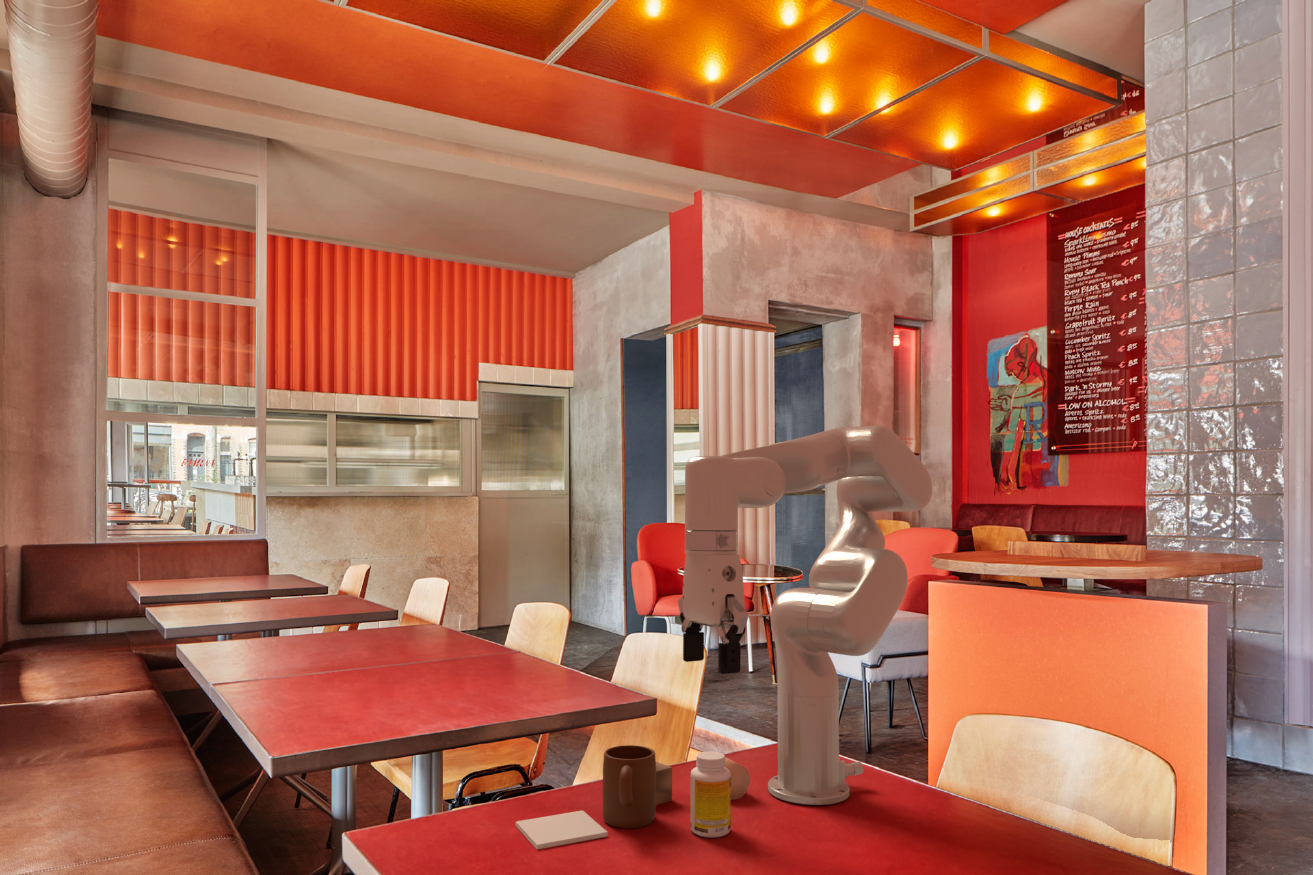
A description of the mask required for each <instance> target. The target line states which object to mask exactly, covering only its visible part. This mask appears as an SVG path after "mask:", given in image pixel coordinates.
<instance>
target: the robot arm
mask: <svg viewBox="0 0 1313 875" xmlns="http://www.w3.org/2000/svg"><path fill="white" fill-rule="evenodd" d="M836 481H837V483H836V499H837V506H838V516H839V525H838V528H837V530H836V532H835V533H834V535H833V536H832V538H831V539H830V541H829V542H828V543H827V545H826V546H825V547H824V549H823V550H822V551H821V553H820V554H819V555H818V557H817V558H816V560H815V561H814V563H813V564H812V566H811V569H810V572H809V575H808V585H809V587H795V588H790V589H786V590H784V591H783V592H781V593H780V594H778V595H777V597H775V600H774V601H773V602H772V603H773V604H772V607H771V610H770V624H771V625H770V626H771V631H772V636H773V641H774V646H775V653H776V655H775V656H776V666H777V667H776V669H777V775H775V776H773V777H771V778H770V779H769V780H768V782H767V790H768V792H769V793H770V794H771V795H772V796H773V797H775V798H778V799H779V800H781V801H782V800H783V801H786V802H789V803H791V804H792V803H793V804H799V805H807V806H808V805H810V806H824V805H826V806H827V805H835V804H838V803H841V802H844V801H845V800H846V799H848V798H849V796H850V793H851V791H850V785H849V784H848V783H847V782H846V781H845V780H847V779H848V778H849V776H858V775H862V774H863V773H864V770H865V769H864V766H863V764H862V762H861V761H855V762H854V761H853V762H848V763H847V762H846V761H845V760H844V759H842V760H841V759H840V723H839V721H840V718H839V716H840V715H839V714H840V712H839V711H840V710H839V709H840V708H839V707H840V706H839V705H840V704H839V703H840V702H839V701H840V700H839V698H840V697H839V693H840V692H839V691H840V689H839V686H840V685H839V684H840V683H839V677H838V672H837V668H836V666H835V664H834V662H833V660H832V658H831V656H830V655H829V654H835V655H836V654H837V655H844V656H850V657H859V656H864V655H867V654H868V653H870V652H871V651H872V650H873V649H875V647H876V646H877V644H878V643H879V642H880V640H881V638H882V636H883V635H884V633H885V632H886V631H887V628H888V626H889V625H890V624H891V622H892V620H893V618H894V617H895V616H896V613H897V612H898V610H899V608H900V607H901V605H902V603H903V601H904V599H905V596H906V593H907V589H908V580H909V579H908V569H907V566H906V563H905V561H904V559H903V558H902V557H901V555H899V554H898V553H896V552H895V551H893V550H891V549H888V548H885V547H886V538H885V536H884V533H883V531H882V528H881V527H880V526H879V524H878V523H877V521H876V519H875V517H874V513H875V512H881V513H883V512H884V513H886V512H890V513H892V512H893V513H894V512H895V513H897V512H898V513H900V512H901V513H904V512H905V513H913V512H918V511H920V510H922V509H924V508H926V507H927V505H928V504H929V503H930V501H931V499H932V496H933V481H932V478H931V475H930V473H929V470H928V469H927V468H926V466H925V465H924V464H923V462H922V461H921V460H920V458H919V457H917V455H916V454H915V453H914V452H913V451H912V449H911V448H910V446H908V445H907V443H906V442H905V441H904V440H903V439H902V438H901V437H900V436H899V435H898V434H896V433H895V432H894V431H893V430H891V429H890V428H888V427H885V426H883V425H878V424H876V425H864V426H863V425H862V426H848V427H847V426H845V427H837V428H836V427H835V428H831V429H827V430H824V431H821V432H817V433H813V434H810V435H806V436H803V437H799V438H798V437H797V438H793V439H789V440H784V441H781V442H776V443H771V444H768V445H765V446H764V445H762V446H760V447H754V448H749V449H744V450H739V451H734V452H731V453H726V454H722V455H701V456H693V457H690V458H689V459H688V460H687V461H686V463H685V470H684V554H685V558H684V559H685V560H684V569H683V580H682V596H681V597H680V598H679V599H678V600H677V605H678V609H679V613H680V614H679V619H680V622H681V632H682V660H683V661H684V662H686V663H688V662H702V661H703V660H704V659H705V633H704V632H703V631H702V629H703V628H704V626H707V627H711V628H716V631H717V634H718V636H719V639H720V641H721V642H718V644H717V646H718V649H717V651H718V652H717V653H718V654H717V658H718V659H717V662H718V665H717V666H718V668H717V669H718V673H719V674H721V675H726V674H727V675H728V674H735V673H737V674H738V673H740V672H741V643H743V641H744V640H743V639H744V634H745V633H746V627H747V622H748V619H749V613H748V611H747V609H745V588H744V578H743V577H744V576H743V569H742V563H741V557H740V554H739V531H738V530H739V523H738V522H739V508H741V509H761V508H762V509H763V508H768V507H771V506H773V505H775V504H776V503H777V502H779V501H780V499H782V497H783V496H784V494H794V493H799V492H807V491H811V490H814V489H816V488H819V487H822V486H825V485H827V484H830V483H832V482H836ZM727 629H728V630H727Z"/></svg>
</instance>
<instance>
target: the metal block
mask: <svg viewBox="0 0 1313 875" xmlns="http://www.w3.org/2000/svg"><path fill="white" fill-rule="evenodd" d="M671 801H673V766H670V765H668V764H664V763H661V762H658V761H656V806H659V805H661V804H665V803H668V802H671Z"/></svg>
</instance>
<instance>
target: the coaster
mask: <svg viewBox="0 0 1313 875" xmlns="http://www.w3.org/2000/svg"><path fill="white" fill-rule="evenodd" d="M515 827H516V828H517V829H518V830H519V831H520V832H521V834H522V835H523V836H524V837H525V838H526V839H527V840H528V841H529V843H531V845H532V846H533V847H534V848H535V849H536V850H541V849H542V850H543V849H547V848H552V847H558V846H564V845H569V844H574V843H580V842H586V841H591V840H596V839H602V838H607V837H608V831H607V830H606V828H604V827H602V825H600V824H599V823H598V822H597V821H595V819H593V817H591V816H590V815H589V814H588V813H586V812H585V811H584V810H576V811H572V812H564V813H560V814H552V815H547V816H541V817H535V818H529V819H522V820H517V821H515Z"/></svg>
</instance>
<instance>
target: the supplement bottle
mask: <svg viewBox="0 0 1313 875" xmlns="http://www.w3.org/2000/svg"><path fill="white" fill-rule="evenodd" d="M725 757H726V756H725V754H724V753H721V752H719V751H702V752H699V753H697V754H696V761H695V762H696V766H695V767H693V769H691V771H690V798H689V799H690V801H689V802H690V811H689V812H690V816H689V817H690V830H691V832H693V833H694V834H695V835H696V836H699V837H702V838H710V839H711V838H714V839H715V838H721V837H724V836H727V835H728V834H729V832H731V823H732V819H731V818H732V816H731V814H732V813H731V812H732V811H731V810H732V808H731V807H732V802H731V801H732V800H731V773H730V771H729V770H728V769H727V768H725Z"/></svg>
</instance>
